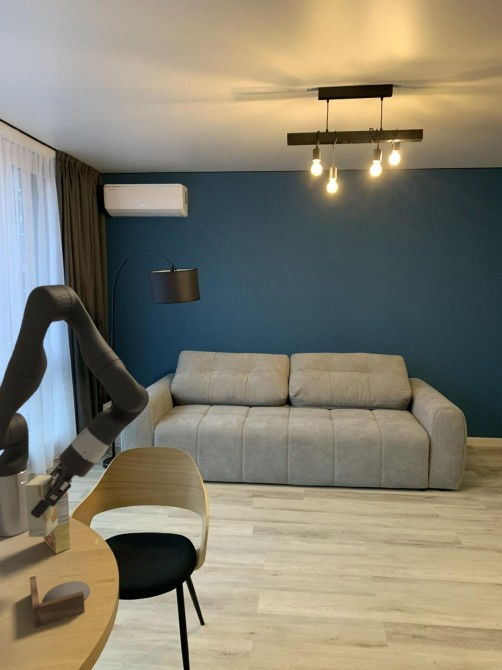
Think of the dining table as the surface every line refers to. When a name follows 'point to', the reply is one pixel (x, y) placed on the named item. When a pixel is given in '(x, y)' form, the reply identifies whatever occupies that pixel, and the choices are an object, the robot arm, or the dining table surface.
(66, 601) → the corner guide
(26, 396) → the robot arm
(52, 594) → the pad
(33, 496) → the skincare box
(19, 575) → the dining table surface
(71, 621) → the dining table surface
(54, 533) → the candy box
